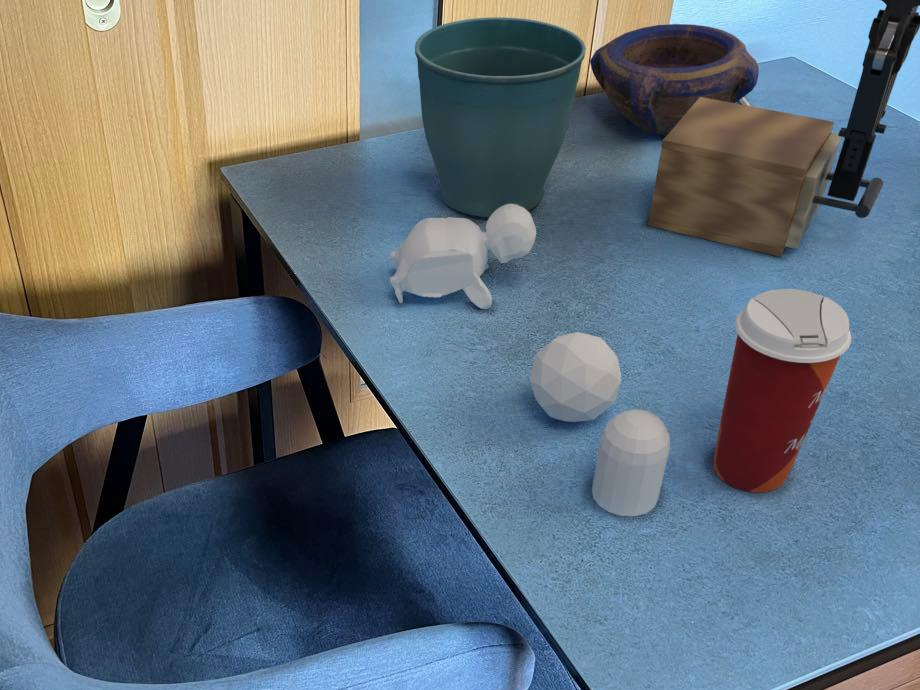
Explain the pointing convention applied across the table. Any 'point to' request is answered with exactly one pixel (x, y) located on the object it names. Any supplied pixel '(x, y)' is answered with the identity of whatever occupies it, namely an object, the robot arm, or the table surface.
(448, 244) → the white turtle figurine
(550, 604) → the table surface
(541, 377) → the geometric ball
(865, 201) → the drawer
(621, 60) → the bowl
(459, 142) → the flower pot
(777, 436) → the coffee cup
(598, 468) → the capsule
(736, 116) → the cabinet
